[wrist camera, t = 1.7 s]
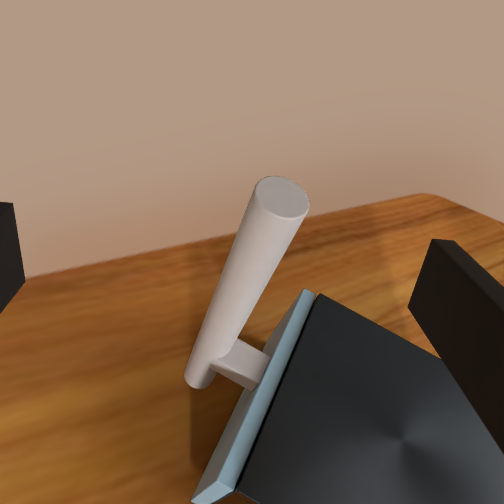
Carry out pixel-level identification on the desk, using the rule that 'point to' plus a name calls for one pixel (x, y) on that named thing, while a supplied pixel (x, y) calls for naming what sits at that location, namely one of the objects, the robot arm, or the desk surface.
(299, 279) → the desk surface
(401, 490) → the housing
